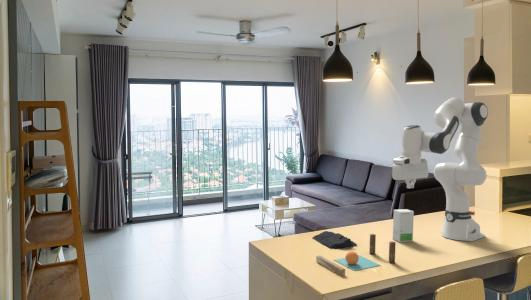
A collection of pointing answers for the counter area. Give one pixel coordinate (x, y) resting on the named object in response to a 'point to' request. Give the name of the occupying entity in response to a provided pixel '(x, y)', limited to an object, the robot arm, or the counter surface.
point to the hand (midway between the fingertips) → (410, 188)
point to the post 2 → (392, 252)
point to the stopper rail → (330, 265)
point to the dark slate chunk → (334, 240)
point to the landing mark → (358, 263)
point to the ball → (352, 257)
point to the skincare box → (403, 225)
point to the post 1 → (372, 244)
